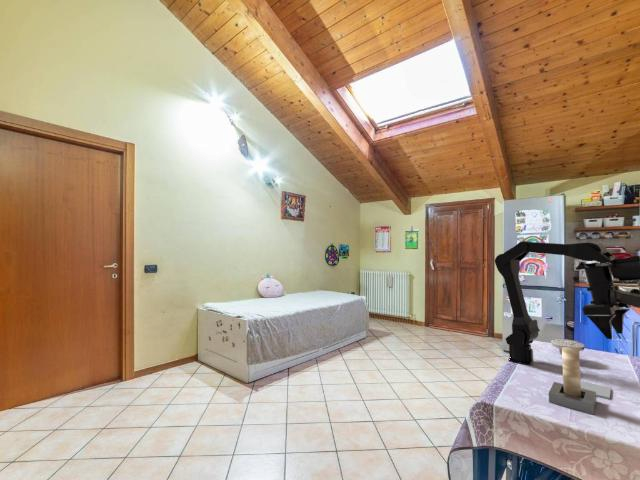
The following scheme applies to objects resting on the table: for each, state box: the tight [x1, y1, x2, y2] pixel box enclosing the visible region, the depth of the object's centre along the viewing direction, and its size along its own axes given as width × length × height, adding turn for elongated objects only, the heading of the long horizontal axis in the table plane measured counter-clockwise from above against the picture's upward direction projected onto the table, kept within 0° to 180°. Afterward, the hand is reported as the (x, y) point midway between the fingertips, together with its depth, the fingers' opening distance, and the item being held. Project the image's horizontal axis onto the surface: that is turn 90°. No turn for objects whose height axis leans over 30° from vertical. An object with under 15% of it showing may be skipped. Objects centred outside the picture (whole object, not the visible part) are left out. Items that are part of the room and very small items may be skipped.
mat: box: [580, 380, 612, 400], centre depth 87 cm, size 8×8×1 cm
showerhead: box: [550, 336, 585, 356], centre depth 110 cm, size 9×7×10 cm
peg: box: [561, 347, 582, 398], centre depth 81 cm, size 4×4×14 cm
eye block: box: [548, 381, 597, 415], centre depth 81 cm, size 9×9×2 cm
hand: (615, 336), depth 88 cm, fingers open, 9 cm apart
